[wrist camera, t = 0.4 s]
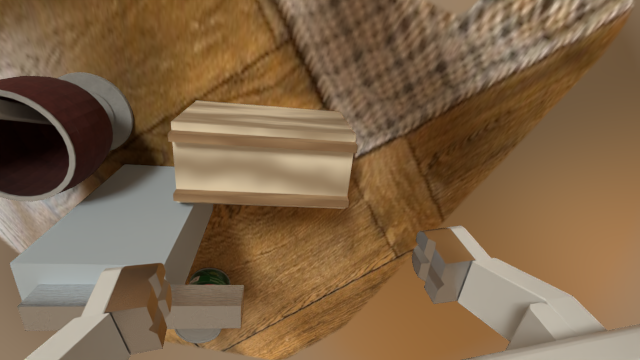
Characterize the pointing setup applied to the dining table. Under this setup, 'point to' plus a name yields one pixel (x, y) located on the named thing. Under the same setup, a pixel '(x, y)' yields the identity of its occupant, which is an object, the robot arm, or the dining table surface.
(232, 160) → the cradle block
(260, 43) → the dining table surface
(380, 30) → the dining table surface
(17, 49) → the dining table surface
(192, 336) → the canned tomato
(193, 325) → the bar
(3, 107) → the mate gourd
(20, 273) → the grey tall block
